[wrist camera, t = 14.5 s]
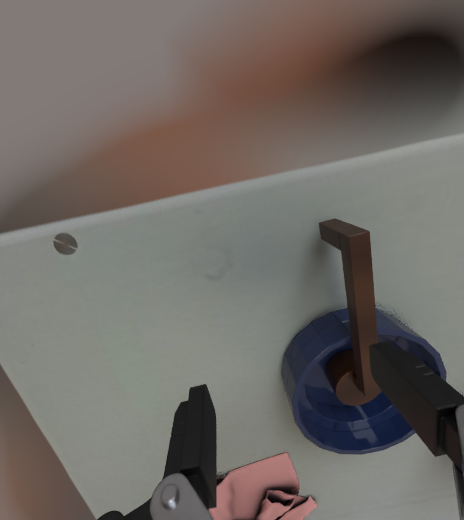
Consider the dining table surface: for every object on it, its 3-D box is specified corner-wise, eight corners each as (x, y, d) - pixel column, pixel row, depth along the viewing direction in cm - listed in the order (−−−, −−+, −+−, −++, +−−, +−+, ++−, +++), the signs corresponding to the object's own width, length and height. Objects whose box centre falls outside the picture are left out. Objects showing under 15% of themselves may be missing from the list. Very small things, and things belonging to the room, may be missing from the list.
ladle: (299, 227, 23) (323, 243, 18) (354, 213, 23) (394, 224, 18) (327, 389, 30) (351, 435, 25) (369, 379, 30) (402, 422, 24)
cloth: (165, 545, 38) (161, 569, 35) (189, 440, 32) (187, 459, 30) (291, 554, 40) (295, 577, 38) (336, 457, 34) (344, 477, 32)
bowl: (257, 345, 28) (265, 378, 23) (384, 280, 27) (420, 301, 22) (313, 431, 32) (329, 474, 28) (425, 379, 31) (463, 415, 26)
